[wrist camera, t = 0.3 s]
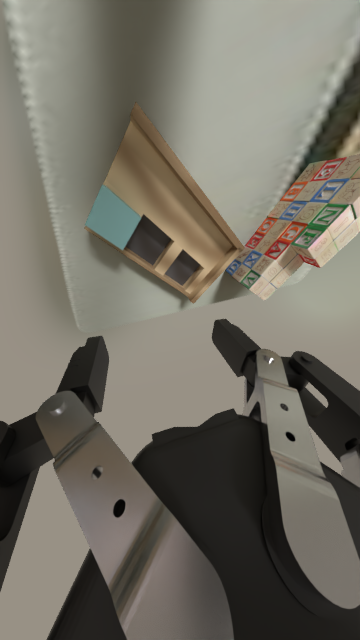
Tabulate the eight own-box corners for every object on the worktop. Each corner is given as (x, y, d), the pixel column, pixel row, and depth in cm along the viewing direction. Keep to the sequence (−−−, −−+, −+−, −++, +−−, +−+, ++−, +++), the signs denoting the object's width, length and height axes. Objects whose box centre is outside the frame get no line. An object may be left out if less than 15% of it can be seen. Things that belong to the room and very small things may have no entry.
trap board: (134, 118, 18) (135, 101, 14) (232, 242, 30) (244, 248, 27) (87, 225, 23) (80, 231, 20) (187, 293, 35) (193, 303, 32)
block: (105, 185, 19) (102, 184, 17) (140, 215, 22) (141, 218, 20) (89, 221, 21) (84, 225, 19) (123, 245, 24) (122, 250, 21)
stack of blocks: (240, 282, 37) (275, 310, 28) (224, 270, 34) (258, 298, 25) (320, 189, 28) (411, 187, 19) (310, 161, 25) (412, 143, 16)
